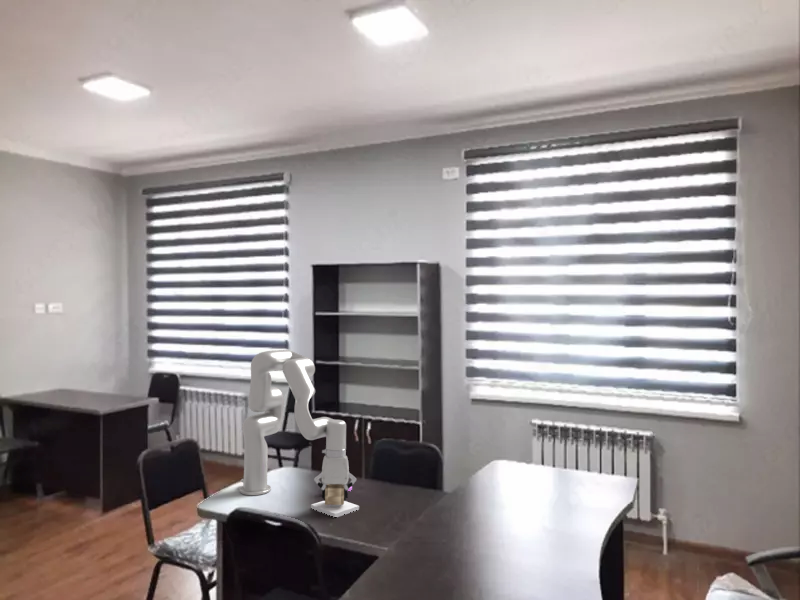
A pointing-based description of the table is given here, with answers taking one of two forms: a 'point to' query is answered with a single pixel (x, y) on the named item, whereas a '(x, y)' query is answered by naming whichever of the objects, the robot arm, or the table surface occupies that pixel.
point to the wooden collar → (334, 494)
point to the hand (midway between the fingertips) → (334, 499)
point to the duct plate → (335, 508)
